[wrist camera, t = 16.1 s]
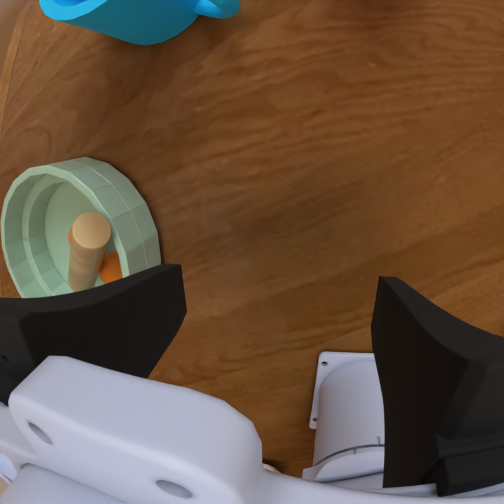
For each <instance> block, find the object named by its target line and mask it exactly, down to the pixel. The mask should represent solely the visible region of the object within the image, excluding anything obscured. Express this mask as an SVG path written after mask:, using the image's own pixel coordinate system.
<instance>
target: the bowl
mask: <svg viewBox="0 0 504 504" xmlns="http://www.w3.org/2000/svg"><path fill="white" fill-rule="evenodd" d="M86 212H96V213H99V214H101V215H103V216H104V217H105V218H106V219H107V220H108V221H109V223H110V226H111V237H110V240H109V243H108V246H107V249H106V252H105V255H104V257H105V256H106V255H107V254H109V253H111V252H116V251H117V252H118V255H119V260H120V265H121V271H122V276H123V278H124V277H127V276H129V275H132V274H135V273H137V272H140V271H143V270H146V269H148V268H151V267H154V266H158V265H161V256H160V248H159V239H158V233H157V229H156V227H155V224H154V221H153V219H152V216H151V214H150V211H149V209H148V206H147V204H146V202H145V201H144V199H143V198H142V197H141V195H140V194H139V192H138V191H137V190H136V188H135V187H134V186H133V184H132V183H131V181H130V180H129V179H128V178H127V177H125V176H124V175H123V174H121V173H120V172H119V171H117V170H116V169H115V168H113V167H112V166H111V165H110V164H108V163H106V162H103V161H99V160H96V159H92V158H89V157H81V158H74V159H68V160H63V161H58V162H54V163H49V164H45V165H40V166H36V167H32V168H29V169H27V170H26V171H25V172H24V173H22V174H21V175H20V176H19V177H18V178H16V179H15V180H14V182H13V184H12V185H11V187H10V189H9V191H8V193H7V195H6V197H5V200H4V205H3V210H2V216H1V240H2V248H3V252H4V256H5V260H6V264H7V268H8V270H9V273H10V275H11V277H12V279H13V282H14V284H15V286H16V288H17V290H18V292H19V294H20V295H21V297H22V298H36V297H48V296H55V295H61V294H67V293H73V291H72V289H71V288H70V286H69V283H68V273H69V258H70V244H69V240H68V235H69V231H70V229H71V227H72V226H73V224H74V221H75V220H76V219H77V217H79V216H80V215H81V214H83V213H86ZM104 284H105V283H104V282H103V281H102V279H101V277H100V274H98V277H97V281H96V284H95V287H97V286H100V285H104Z"/></svg>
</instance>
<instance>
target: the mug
mask: <svg viewBox="0 0 504 504" xmlns="http://www.w3.org/2000/svg"><path fill="white" fill-rule="evenodd" d="M40 6H41V8H42V9H43V11H44V13H45V15H47V16H49V17H51V18H53V19H54V20H57V21H61V22H64V23H68V24H72V25H76V26H79V27H82V28H86V29H89V30H93V31H96V32H99V33H102V34H105V35H108V36H111V37H114V38H117V39H120V40H123V41H126V42H129V43H132V44H138V45H151V44H157V43H162V42H164V41H166V40H168V39H170V38H172V37H175V36H177V35H178V34H180V33H181V32H182V31H183V30H185V29H186V28H187V27H189V26H190V25H191V24H192V23H193V22H194V21H195V20H196V18H197V17H198V16H199V15H204V16H209V17H213V18H221V19H227V18H230V17H232V16H234V15H236V14H237V13H238V12H239V10H240V1H239V0H40Z"/></svg>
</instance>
